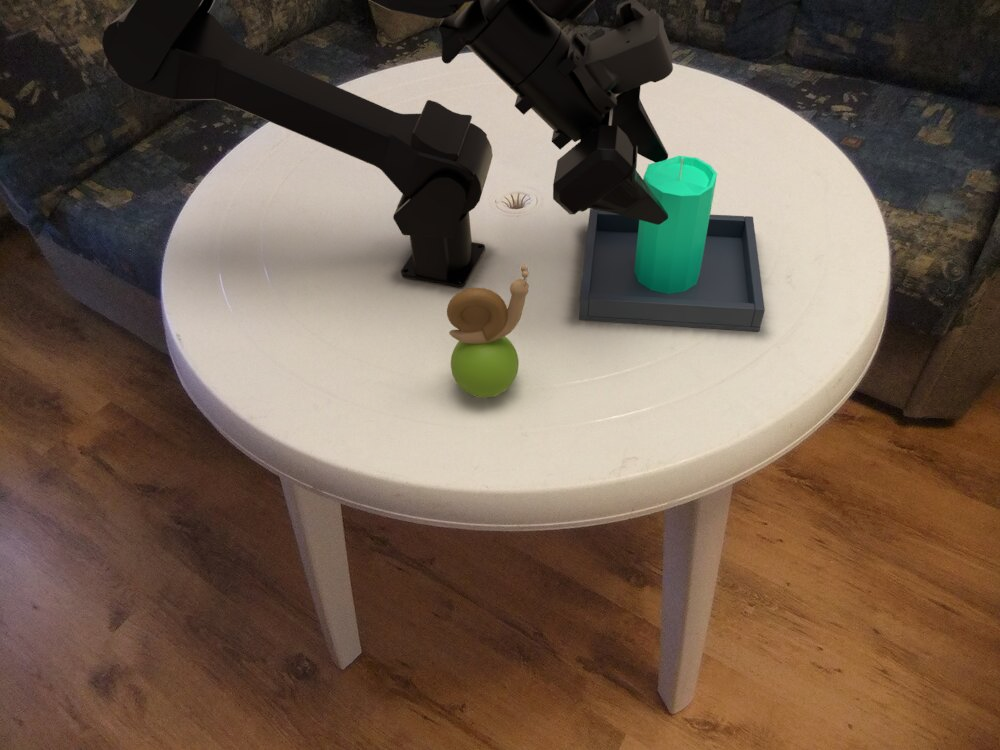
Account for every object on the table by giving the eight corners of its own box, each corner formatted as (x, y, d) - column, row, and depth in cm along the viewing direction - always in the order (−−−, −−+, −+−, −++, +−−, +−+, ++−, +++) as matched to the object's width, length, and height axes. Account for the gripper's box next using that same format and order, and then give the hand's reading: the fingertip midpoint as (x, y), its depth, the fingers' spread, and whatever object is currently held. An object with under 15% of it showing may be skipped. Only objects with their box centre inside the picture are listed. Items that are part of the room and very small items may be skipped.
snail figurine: (534, 407, 64) (532, 292, 55) (455, 414, 64) (440, 300, 55) (527, 359, 67) (524, 245, 59) (452, 366, 67) (438, 252, 59)
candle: (697, 253, 76) (717, 139, 67) (701, 294, 72) (722, 179, 63) (634, 251, 76) (645, 138, 68) (634, 292, 72) (645, 177, 64)
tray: (578, 320, 71) (579, 298, 69) (588, 229, 80) (589, 208, 78) (759, 331, 69) (765, 309, 67) (748, 237, 78) (753, 216, 76)
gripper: (607, 38, 50) (753, 197, 56) (619, -63, 63) (738, 76, 69) (489, 145, 57) (632, 276, 63) (522, 34, 69) (638, 153, 76)
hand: (664, 188), depth 68 cm, fingers open, 9 cm apart
